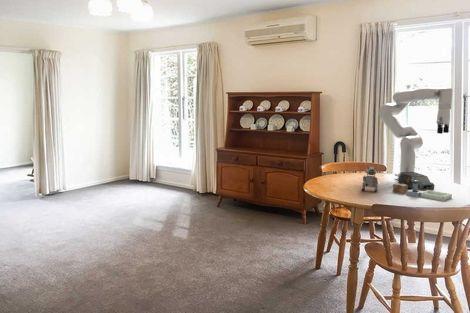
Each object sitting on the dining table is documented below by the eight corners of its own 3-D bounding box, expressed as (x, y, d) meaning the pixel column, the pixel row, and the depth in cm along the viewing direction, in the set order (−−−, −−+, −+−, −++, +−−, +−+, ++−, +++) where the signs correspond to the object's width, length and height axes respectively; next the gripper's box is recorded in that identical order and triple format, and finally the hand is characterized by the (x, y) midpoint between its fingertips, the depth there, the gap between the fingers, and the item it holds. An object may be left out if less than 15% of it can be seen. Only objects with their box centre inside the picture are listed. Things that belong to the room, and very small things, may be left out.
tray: (419, 196, 249) (419, 192, 248) (427, 193, 256) (428, 189, 255) (443, 201, 238) (443, 196, 238) (451, 198, 245) (451, 194, 245)
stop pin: (410, 195, 252) (411, 180, 251) (413, 194, 255) (414, 179, 253) (416, 196, 250) (417, 181, 248) (419, 195, 252) (420, 180, 251)
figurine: (379, 189, 266) (380, 166, 264) (375, 193, 256) (377, 169, 254) (364, 188, 271) (365, 165, 269) (360, 191, 261) (361, 167, 259)
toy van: (419, 194, 256) (420, 178, 255) (397, 185, 280) (398, 171, 279) (435, 193, 258) (436, 177, 257) (411, 185, 282) (412, 170, 281)
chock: (392, 191, 261) (393, 184, 261) (396, 190, 264) (396, 183, 264) (403, 193, 256) (403, 185, 256) (407, 192, 259) (407, 184, 258)
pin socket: (406, 195, 253) (406, 190, 252) (411, 193, 257) (412, 189, 257) (417, 197, 247) (418, 192, 247) (423, 195, 252) (423, 191, 251)
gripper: (444, 106, 280) (442, 132, 283) (433, 106, 269) (431, 133, 271) (455, 106, 275) (453, 132, 277) (445, 107, 263) (443, 134, 266)
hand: (442, 133), depth 274 cm, fingers open, 9 cm apart
